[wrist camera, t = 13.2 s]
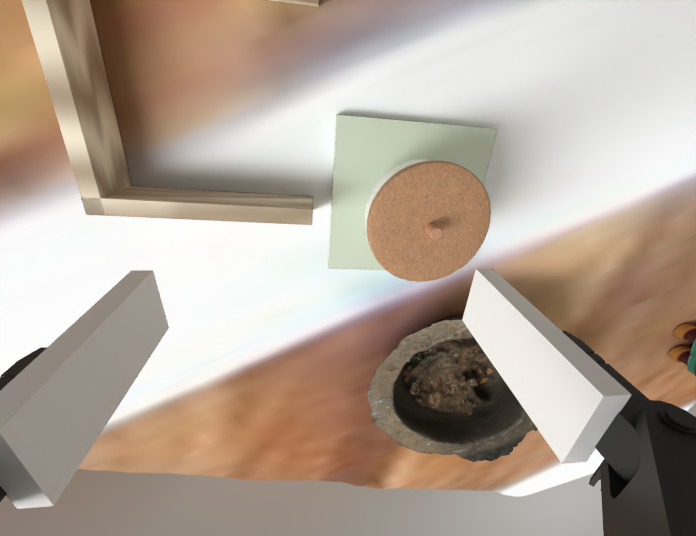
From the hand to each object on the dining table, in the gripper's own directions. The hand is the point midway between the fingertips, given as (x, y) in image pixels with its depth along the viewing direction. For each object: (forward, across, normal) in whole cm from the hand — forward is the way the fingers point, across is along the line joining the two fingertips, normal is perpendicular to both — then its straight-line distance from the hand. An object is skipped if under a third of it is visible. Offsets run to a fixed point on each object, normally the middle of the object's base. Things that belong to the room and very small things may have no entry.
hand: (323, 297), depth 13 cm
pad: (+22, +10, -2) cm, 24 cm away
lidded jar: (+21, +10, -2) cm, 23 cm away
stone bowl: (+22, +19, -25) cm, 38 cm away
